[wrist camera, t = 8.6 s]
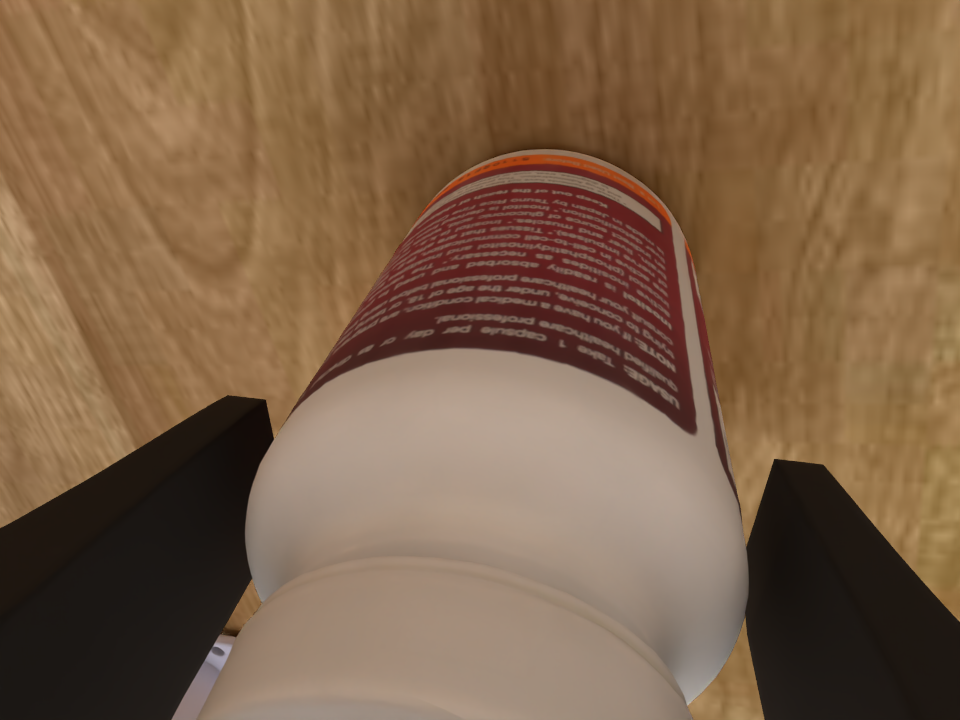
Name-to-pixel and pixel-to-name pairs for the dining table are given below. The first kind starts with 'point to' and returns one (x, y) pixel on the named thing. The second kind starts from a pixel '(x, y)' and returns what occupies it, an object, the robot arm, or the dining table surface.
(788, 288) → the dining table surface
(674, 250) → the pill bottle
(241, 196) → the dining table surface
